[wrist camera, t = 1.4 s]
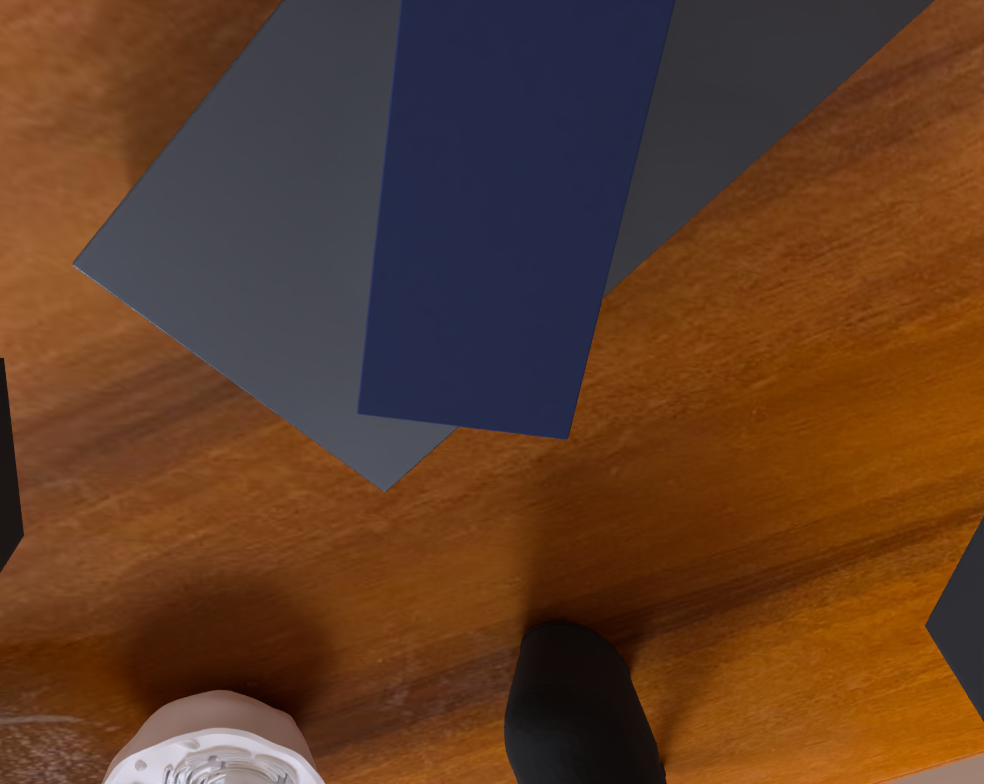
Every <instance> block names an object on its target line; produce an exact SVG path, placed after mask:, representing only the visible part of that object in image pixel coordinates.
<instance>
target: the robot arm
mask: <svg viewBox="0 0 984 784" xmlns="http://www.w3.org/2000/svg"><path fill="white" fill-rule="evenodd" d="M23 536H24V532H23V523H22V514H21V505H20V496H19V488H18V479H17V470H16V461H15V452H14V443H13V434H12V426H11V417H10V408H9V399H8V390H7V381H6V372H5V364H4V358H0V572H1V571H2V569H3V568H4V566H5V565H6V563H7V561H8V560H9V558H10V557H11V555H12V554H13V552H14V550H15V549H16V547H17V546H18V544H19V543H20V541H21V539H22V538H23ZM925 627H926V629H927V630H928V632H929V633H930V635H931V637H932V638H933V640H934V642H935V643H936V645H937V646H938V648H939V650H940V651H941V653H942V655H943V656H944V658H945V659H946V661H947V663H948V664H949V666H950V668H951V669H952V671H953V672H954V674H955V676H956V677H957V679H958V681H959V682H960V684H961V685H962V687H963V689H964V690H965V692H966V694H967V695H968V697H969V698H970V700H971V702H972V703H973V705H974V707H975V708H976V710H977V711H978V713H979V715H980V716H981V718H982V720H983V721H984V517H983V519H982V521H981V522H980V524H979V526H978V528H977V530H976V532H975V534H974V535H973V537H972V539H971V541H970V543H969V545H968V547H967V548H966V550H965V552H964V554H963V556H962V558H961V560H960V561H959V563H958V565H957V567H956V569H955V571H954V573H953V574H952V576H951V578H950V580H949V582H948V584H947V586H946V587H945V589H944V591H943V593H942V595H941V597H940V598H939V600H938V602H937V604H936V606H935V608H934V610H933V611H932V613H931V615H930V617H929V619H928V621H927V623H926V624H925Z"/></svg>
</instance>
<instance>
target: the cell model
mask: <svg viewBox="0 0 984 784" xmlns="http://www.w3.org/2000/svg"><path fill="white" fill-rule="evenodd" d="M101 784H325V783H324V781H323V779H322V778H321V776H320V774H319V772H318V770H317V768H316V765H315V763H314V761H313V758H312V755H311V753H310V750H309V747H308V745H307V743H306V741H305V739H304V737H303V735H302V733H301V732H300V730H299V729H298V727H297V725H296V723H295V721H294V720H293V718H292V717H291V716H290V715H289V714H287V713H285V712H283V711H281V710H278V709H275V708H272V707H270V706H268V705H267V704H265V703H263V702H261V701H258V700H256V699H254V698H251V697H248V696H245V695H242V694H239V693H236V692H233V691H228V690H214V691H209V692H204V693H200V694H196V695H192V696H188V697H185V698H181V699H178V700H175V701H173V702H170V703H168V704H166V705H164V706H163V707H161V708H160V709H158V710H157V711H156V712H155V713H154V714H152V715H151V716H150V717H149V719H148V720H147V721H146V722H145V723H144V724H143V726H142V727H141V728H140V730H139V731H138V732H137V734H136V735H135V736H134V737H133V738H132V739H131V740H130V741H129V742H128V743H127V744H126V745H125V746H124V747H123V748H122V749H121V750H120V751H119V752H118V753H117V755H116V756H115V757H114V759H113V760H112V762H111V764H110V766H109V768H108V770H107V772H106V774H105V777H104V779H103V781H102V783H101Z"/></svg>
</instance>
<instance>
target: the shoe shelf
mask: <svg viewBox="0 0 984 784" xmlns="http://www.w3.org/2000/svg"><path fill="white" fill-rule="evenodd" d="M933 1H934V0H675V4H674V8H673V13H672V17H671V21H670V25H669V29H668V33H667V37H666V41H665V45H664V49H663V53H662V57H661V62H660V66H659V70H658V74H657V78H656V82H655V86H654V90H653V94H652V98H651V102H650V106H649V110H648V115H647V119H646V123H645V127H644V131H643V135H642V139H641V143H640V147H639V151H638V155H637V159H636V164H635V168H634V172H633V176H632V180H631V184H630V188H629V192H628V196H627V200H626V204H625V208H624V213H623V217H622V221H621V225H620V229H619V233H618V237H617V241H616V245H615V249H614V253H613V257H612V261H611V266H610V270H609V274H608V278H607V282H606V286H605V290H604V294H603V297H604V296H605V295H606V294H608V293H609V292H610V291H611V290H612V289H613V288H614V287H615V286H616V285H618V284H619V283H620V282H621V281H622V280H623V279H624V278H625V277H626V276H628V275H629V274H630V273H631V272H632V271H633V270H634V269H635V268H636V267H638V266H639V265H640V264H641V263H642V262H643V261H644V260H645V259H647V258H648V257H649V256H650V255H651V254H652V253H653V252H654V251H655V250H657V249H658V248H659V247H660V246H661V245H662V244H663V243H664V242H665V241H667V240H668V239H669V238H670V237H671V236H672V235H673V234H674V233H676V232H677V231H678V230H679V229H680V228H681V227H682V226H683V225H684V224H686V223H687V222H688V221H689V220H690V219H691V218H692V217H693V216H694V215H696V214H697V213H698V212H699V211H700V210H701V209H702V208H703V207H705V206H706V205H707V204H708V203H709V202H710V201H711V200H712V199H713V198H715V197H716V196H717V195H718V194H719V193H720V192H721V191H722V190H723V189H725V188H726V187H727V186H728V185H729V184H730V183H731V182H732V181H734V180H735V179H736V178H737V177H738V176H739V175H740V174H741V173H742V172H744V171H745V170H746V169H747V168H748V167H749V166H750V165H751V164H752V163H754V162H755V161H756V160H757V159H758V158H759V157H760V156H761V155H763V154H764V153H765V152H766V151H767V150H768V149H769V148H770V147H771V146H773V145H774V144H775V143H776V142H777V141H778V140H779V139H780V138H781V137H783V136H784V135H785V134H786V133H787V132H788V131H789V130H790V129H792V128H793V127H794V126H795V125H796V124H797V123H798V122H799V121H800V120H802V119H803V118H804V117H805V116H806V115H807V114H808V113H809V112H810V111H812V110H813V109H814V108H815V107H816V106H817V105H818V104H819V103H821V102H822V101H823V100H824V99H825V98H826V97H827V96H828V95H829V94H831V93H832V92H833V91H834V90H835V89H836V88H837V87H838V86H839V85H841V84H842V83H843V82H844V81H845V80H846V79H847V78H848V77H850V76H851V75H852V74H853V73H854V72H855V71H856V70H857V69H858V68H860V67H861V66H862V65H863V64H864V63H865V62H866V61H867V60H868V59H870V58H871V57H872V56H873V55H874V54H875V53H876V52H877V51H879V50H880V49H881V48H882V47H883V46H884V45H885V44H886V43H887V42H889V41H890V40H891V39H892V38H893V37H894V36H895V35H896V34H897V33H899V32H900V31H901V30H902V29H903V28H904V27H905V26H906V25H908V24H909V23H910V22H911V21H912V20H913V19H914V18H915V17H916V16H918V15H919V14H920V13H921V12H922V11H923V10H924V9H925V8H926V7H928V6H929V5H930V4H931V3H932V2H933ZM399 9H400V0H283V1H282V2H281V3H280V4H279V6H278V7H277V8H276V9H275V11H274V12H273V13H272V14H271V16H270V17H269V18H268V19H267V21H266V22H265V23H264V24H263V26H262V27H261V28H260V29H259V31H258V32H257V33H256V34H255V36H254V37H253V38H252V39H251V41H250V42H249V43H248V44H247V46H246V47H245V48H244V49H243V51H242V52H241V53H240V54H239V56H238V57H237V58H236V59H235V61H234V62H233V63H232V64H231V66H230V67H229V68H228V69H227V71H226V72H225V73H224V74H223V75H222V77H221V78H220V79H219V80H218V82H217V83H216V84H215V85H214V87H213V88H212V89H211V90H210V92H209V93H208V94H207V95H206V97H205V98H204V99H203V100H202V102H201V103H200V104H199V105H198V107H197V108H196V109H195V110H194V112H193V113H192V114H191V115H190V117H189V118H188V119H187V120H186V122H185V123H184V124H183V125H182V127H181V128H180V129H179V130H178V132H177V133H176V134H175V135H174V137H173V138H172V139H171V140H170V142H169V143H168V144H167V145H166V147H165V148H164V149H163V150H162V152H161V153H160V154H159V155H158V157H157V158H156V159H155V160H154V162H153V163H152V164H151V165H150V167H149V168H148V169H147V170H146V172H145V173H144V174H143V175H142V177H141V178H140V179H139V180H138V182H137V183H136V184H135V185H134V187H133V188H132V189H131V190H130V192H129V193H128V194H127V195H126V197H125V198H124V199H123V200H122V202H121V203H120V204H119V205H118V207H117V208H116V209H115V210H114V212H113V213H112V214H111V215H110V217H109V218H108V219H107V220H106V222H105V223H104V224H103V225H102V227H101V228H100V229H99V230H98V232H97V233H96V234H95V235H94V237H93V238H92V239H91V240H90V242H89V243H88V244H87V245H86V247H85V248H84V249H83V250H82V252H81V253H80V254H79V255H78V256H77V258H76V259H75V260H74V261H73V266H74V267H75V268H77V269H78V270H80V271H81V272H82V273H84V274H85V275H86V276H88V277H89V278H91V279H92V280H93V281H95V282H96V283H97V284H99V285H100V286H102V287H103V288H104V289H106V290H107V291H108V292H110V293H111V294H113V295H114V296H115V297H117V298H118V299H119V300H121V301H122V302H124V303H125V304H126V305H128V306H129V307H130V308H132V309H133V310H135V311H136V312H137V313H139V314H140V315H141V316H143V317H144V318H146V319H147V320H148V321H150V322H151V323H152V324H154V325H155V326H157V327H158V328H159V329H161V330H162V331H163V332H165V333H166V334H168V335H169V336H170V337H172V338H173V339H174V340H176V341H177V342H179V343H180V344H181V345H183V346H184V347H185V348H187V349H188V350H190V351H191V352H192V353H194V354H195V355H196V356H198V357H199V358H201V359H202V360H203V361H205V362H206V363H207V364H209V365H210V366H212V367H213V368H214V369H216V370H217V371H218V372H220V373H221V374H223V375H224V376H225V377H227V378H228V379H229V380H231V381H232V382H234V383H235V384H236V385H238V386H239V387H240V388H242V389H243V390H245V391H246V392H247V393H249V394H250V395H251V396H253V397H254V398H256V399H257V400H258V401H260V402H261V403H262V404H264V405H265V406H267V407H268V408H269V409H271V410H272V411H273V412H275V413H276V414H277V415H279V416H280V417H282V418H283V419H284V420H286V421H287V422H288V423H290V424H291V425H293V426H294V427H295V428H297V429H298V430H299V431H301V432H302V433H304V434H305V435H306V436H308V437H309V438H310V439H312V440H313V441H315V442H316V443H317V444H319V445H320V446H321V447H323V448H324V449H326V450H327V451H328V452H330V453H331V454H332V455H334V456H335V457H337V458H338V459H339V460H341V461H342V462H343V463H345V464H346V465H348V466H349V467H350V468H352V469H353V470H354V471H356V472H357V473H359V474H360V475H361V476H363V477H364V478H365V479H367V480H368V481H370V482H371V483H372V484H374V485H375V486H376V487H378V488H379V489H381V490H382V491H383V492H387V491H388V490H389V489H390V488H391V487H392V486H393V485H394V484H396V483H397V482H398V481H399V480H400V479H401V478H402V477H403V476H405V475H406V474H407V473H408V472H409V471H410V470H411V469H412V468H413V467H415V466H416V465H417V464H418V463H419V462H420V461H421V460H422V459H423V458H425V457H426V456H427V455H428V454H429V453H430V452H431V451H432V450H434V449H435V448H436V447H437V446H438V445H439V444H440V443H441V442H442V441H444V440H445V439H446V438H447V437H448V436H449V435H450V434H451V433H452V432H454V431H455V430H456V429H457V428H458V426H450V425H442V424H434V423H426V422H417V421H409V420H401V419H393V418H385V417H377V416H368V415H360V414H357V405H358V395H359V386H360V376H361V367H362V358H363V348H364V339H365V329H366V320H367V310H368V301H369V292H370V282H371V273H372V263H373V254H374V244H375V235H376V226H377V216H378V207H379V197H380V188H381V178H382V169H383V160H384V150H385V141H386V131H387V122H388V112H389V103H390V94H391V84H392V75H393V65H394V56H395V46H396V37H397V28H398V18H399Z"/></svg>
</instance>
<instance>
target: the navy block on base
mask: <svg viewBox="0 0 984 784" xmlns="http://www.w3.org/2000/svg"><path fill="white" fill-rule="evenodd" d="M674 4H675V0H400V9H399V18H398V28H397V37H396V46H395V56H394V65H393V75H392V84H391V94H390V103H389V112H388V122H387V131H386V141H385V150H384V160H383V169H382V178H381V188H380V197H379V207H378V216H377V226H376V235H375V244H374V254H373V263H372V273H371V282H370V292H369V301H368V310H367V320H366V329H365V339H364V348H363V358H362V367H361V376H360V386H359V395H358V405H357V414H360V415H368V416H377V417H385V418H393V419H401V420H409V421H417V422H426V423H434V424H442V425H450V426H458V427H467V428H475V429H483V430H491V431H499V432H508V433H516V434H524V435H532V436H540V437H548V438H557V439H565V440H567V439H568V437H569V433H570V429H571V425H572V421H573V417H574V412H575V408H576V404H577V400H578V396H579V392H580V388H581V384H582V380H583V376H584V372H585V368H586V363H587V359H588V355H589V351H590V347H591V343H592V339H593V335H594V331H595V327H596V323H597V319H598V315H599V310H600V306H601V302H602V298H603V294H604V290H605V286H606V282H607V278H608V274H609V270H610V266H611V261H612V257H613V253H614V249H615V245H616V241H617V237H618V233H619V229H620V225H621V221H622V217H623V213H624V208H625V204H626V200H627V196H628V192H629V188H630V184H631V180H632V176H633V172H634V168H635V164H636V159H637V155H638V151H639V147H640V143H641V139H642V135H643V131H644V127H645V123H646V119H647V115H648V110H649V106H650V102H651V98H652V94H653V90H654V86H655V82H656V78H657V74H658V70H659V66H660V62H661V57H662V53H663V49H664V45H665V41H666V37H667V33H668V29H669V25H670V21H671V17H672V13H673V8H674Z"/></svg>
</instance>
